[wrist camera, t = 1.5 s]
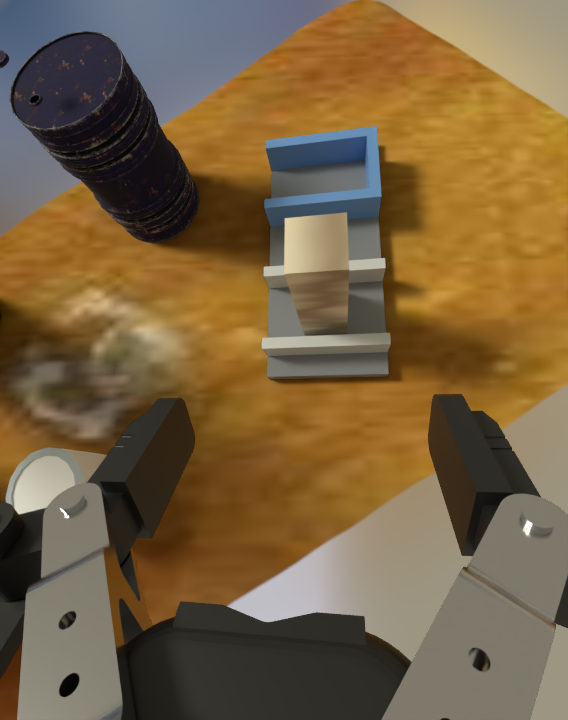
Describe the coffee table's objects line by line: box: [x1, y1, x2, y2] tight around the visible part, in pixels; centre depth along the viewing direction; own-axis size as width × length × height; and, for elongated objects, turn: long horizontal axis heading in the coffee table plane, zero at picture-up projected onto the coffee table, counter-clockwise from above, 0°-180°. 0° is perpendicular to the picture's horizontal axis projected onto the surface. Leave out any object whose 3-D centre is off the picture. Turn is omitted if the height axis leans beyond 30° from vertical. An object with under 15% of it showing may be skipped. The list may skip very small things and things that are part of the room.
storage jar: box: [0, 31, 199, 243], centre depth 33 cm, size 10×10×18 cm
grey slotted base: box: [262, 126, 391, 379], centre depth 35 cm, size 11×26×4 cm, turn 179°
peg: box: [284, 212, 349, 334], centre depth 28 cm, size 4×4×12 cm
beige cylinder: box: [6, 447, 107, 514], centre depth 31 cm, size 7×7×7 cm
